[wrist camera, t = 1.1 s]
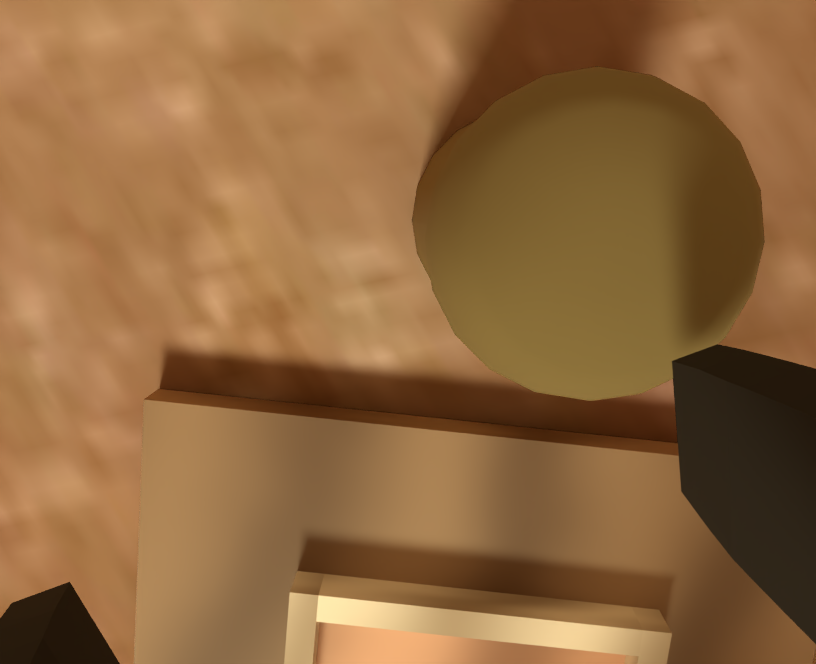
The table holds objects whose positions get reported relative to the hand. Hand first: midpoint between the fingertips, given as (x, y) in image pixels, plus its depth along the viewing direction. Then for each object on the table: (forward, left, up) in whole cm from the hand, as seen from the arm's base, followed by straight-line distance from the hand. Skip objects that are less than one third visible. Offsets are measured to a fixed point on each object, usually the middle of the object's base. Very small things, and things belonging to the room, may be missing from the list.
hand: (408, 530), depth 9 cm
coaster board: (-2, +13, -13) cm, 18 cm away
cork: (-2, -3, -14) cm, 14 cm away
